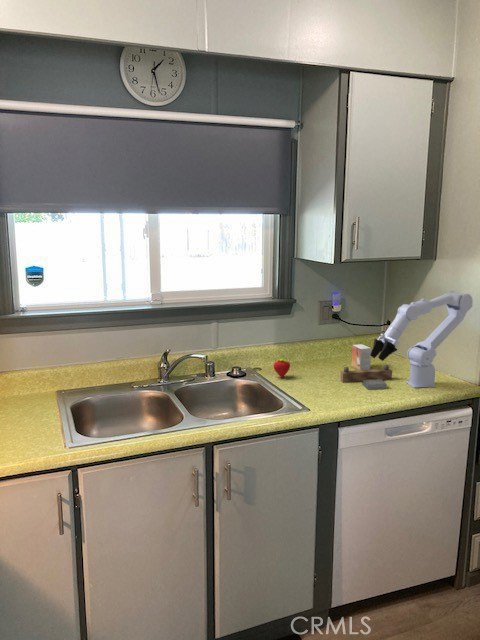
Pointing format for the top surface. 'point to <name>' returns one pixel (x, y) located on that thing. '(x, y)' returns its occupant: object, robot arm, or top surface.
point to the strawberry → (281, 367)
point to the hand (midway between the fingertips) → (376, 358)
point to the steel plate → (374, 384)
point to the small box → (361, 357)
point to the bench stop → (366, 374)
